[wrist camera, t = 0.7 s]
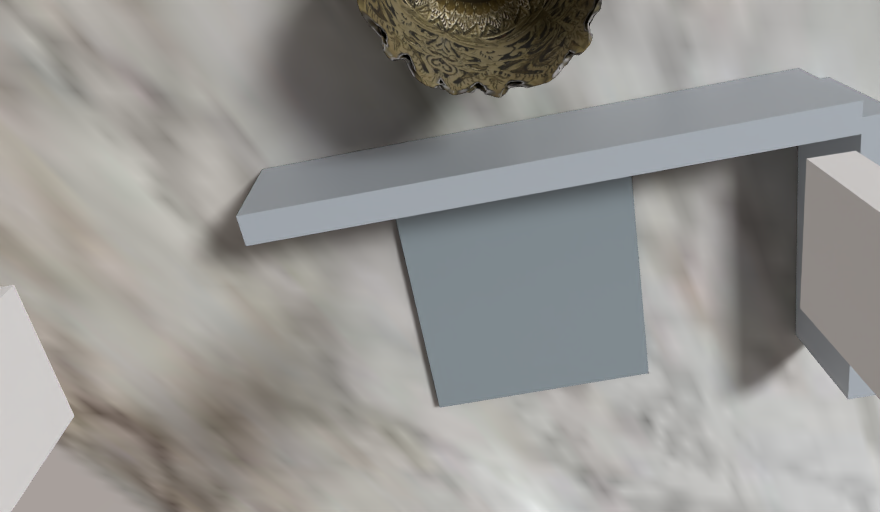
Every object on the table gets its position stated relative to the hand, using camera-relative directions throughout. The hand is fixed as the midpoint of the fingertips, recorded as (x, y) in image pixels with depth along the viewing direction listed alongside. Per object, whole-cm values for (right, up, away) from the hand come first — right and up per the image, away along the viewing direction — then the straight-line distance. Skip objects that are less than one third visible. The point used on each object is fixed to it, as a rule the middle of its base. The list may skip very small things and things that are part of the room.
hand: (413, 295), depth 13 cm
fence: (+6, +1, +21) cm, 22 cm away
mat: (+4, -1, +22) cm, 23 cm away
